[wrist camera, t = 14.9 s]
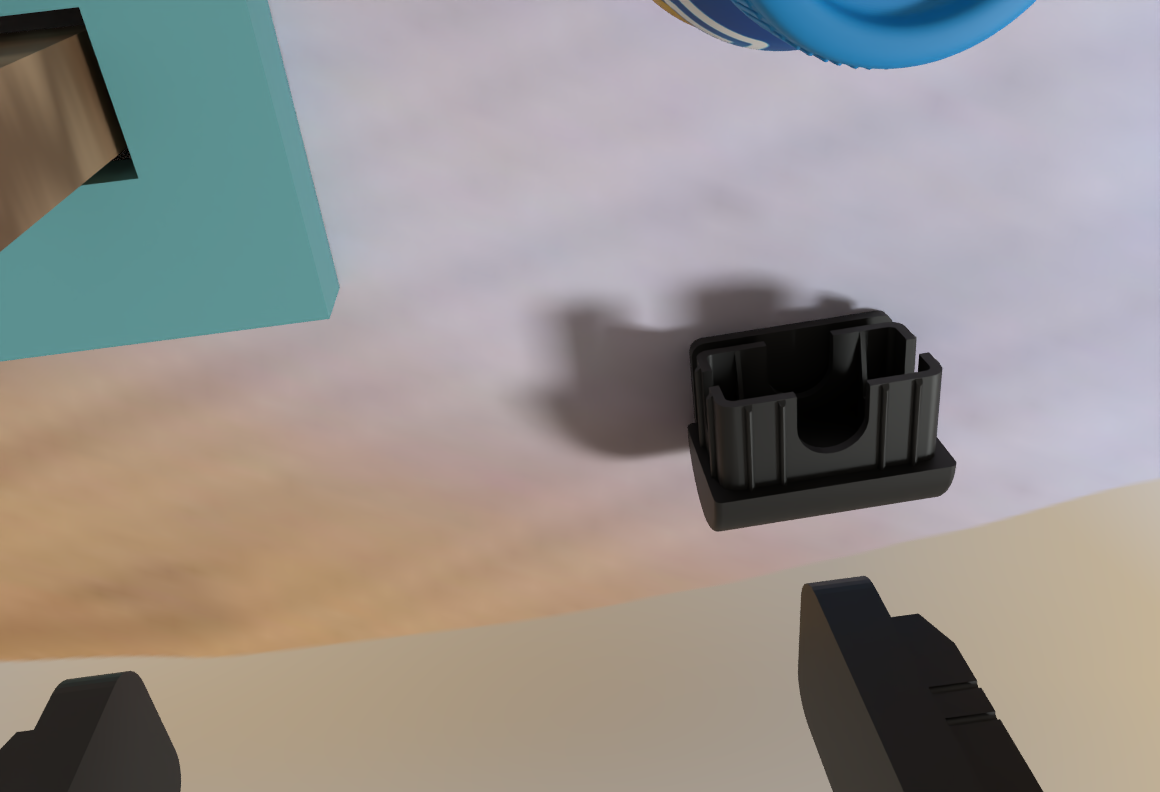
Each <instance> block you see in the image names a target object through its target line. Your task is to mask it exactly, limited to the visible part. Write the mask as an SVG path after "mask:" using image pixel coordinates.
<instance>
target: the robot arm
mask: <svg viewBox="0 0 1160 792" xmlns="http://www.w3.org/2000/svg"><path fill="white" fill-rule="evenodd" d="M799 636H800V637H799V660H798V680H799V688H800V695H801V701H802V705H803V709H804V713H805V717H806V720H807V723H808V726H809V729H810V731H811V734H812V737H813V739H814V742H815V745H816V747H817V750H818V753H819V755H820V758H821V761H822V764H823V766H824V769H825V771H826V774H827V777H828V780H829V782H830V785H831V788H832V790H833V792H1043V791H1042V789H1041V787H1040V785H1039V784H1038V782H1037V780H1036V779H1035V777H1034V776H1033V774H1032V772H1031V770H1030V769H1029V767H1028V765H1027V764H1026V762H1025V760H1024V759H1023V757H1022V755H1021V754H1020V752H1019V750H1018V749H1017V747H1016V745H1015V743H1014V742H1013V740H1012V738H1011V737H1010V735H1009V733H1008V732H1007V730H1006V728H1005V727H1004V725H1003V723H1002V722H1001V720H1000V719H999V720H997V718H996V715H995V710H994V708H993V707H992V705H991V703H990V702H989V700H988V698H987V697H986V695H985V693H984V692H983V690H982V688H978V685H977V680H976V678H975V677H974V675H973V673H972V672H971V670H970V668H969V666H968V665H967V663H966V661H965V660H964V658H963V656H962V655H961V653H960V651H959V650H958V648H957V646H956V645H955V643H954V642H952V641H951V640H950V639H949V638H948V637H946V636H945V635H944V634H943V633H941V632H940V631H939V630H938V629H937V628H935V627H934V626H933V625H932V624H930V623H929V622H928V621H927V620H926V619H924V618H923V617H922V616H921V615H919V614H912V615H905V616H897V617H890V615H889V613H888V611H887V609H886V607H885V605H884V603H883V602H882V600H881V598H880V596H879V594H878V592H877V590H876V589H875V587H874V585H873V583H872V582H871V581H870V579H869V578H867V577H866V576H860V577H853V578H845V579H837V580H830V581H822V582H815V583H807V584H804V586H803V588H802V592H801V611H800V635H799ZM180 788H181V773H180V764H179V759H178V756H177V753H176V751H175V748H174V746H173V745H172V742H171V740H170V738H169V736H168V734H167V731H166V729H165V727H164V725H163V723H162V722H161V719H160V717H159V715H158V712H157V710H156V708H155V706H154V704H153V702H152V700H151V698H150V696H149V694H148V691H147V689H146V687H145V685H144V683H143V681H142V679H141V678H140V677H139V675H138V674H136V673H135V672H132V671H127V672H120V673H112V674H104V675H97V676H89V677H82V678H75V679H67V680H65V681H63V682H61V683H60V684H59V685H58V686H57V687H56V689H55V690H54V692H53V693H52V695H51V697H50V700H49V701H48V703H47V705H46V707H45V709H44V711H43V713H42V715H41V717H40V719H39V721H38V723H37V725H36V727H35V729H34V730H30V731H23V732H17V733H16V734H15V735H14V736H13V737H12V738H11V739H10V740H9V741H8V742H7V743H6V744H5V745H4V746H3V747H2V748H1V749H0V792H180Z"/></svg>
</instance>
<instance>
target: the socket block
mask: <svg viewBox="0 0 1160 792" xmlns="http://www.w3.org/2000/svg"><path fill="white" fill-rule="evenodd" d="M75 7H79V9H80V12H81V15H82V17H83V20H84V23H85V26H86V29H87V32H88V35H89V37H90V40H91V43H92V46H93V49H94V52H95V55H96V58H97V60H98V63H99V66H100V69H101V72H102V75H103V78H104V80H105V83H106V86H107V89H108V92H109V95H110V98H111V101H112V103H113V106H114V109H115V112H116V115H117V118H118V121H119V123H120V126H121V129H122V132H123V135H124V138H125V141H126V144H127V146H128V149H129V152H130V155H131V158H132V159H125V160H117V161H110V162H109V163H107V164H106V165H105V166H104V167H103V168H101V169H100V170H99V171H98V172H97V173H95V174H94V175H93V176H92V177H91V178H89V179H88V180H87V181H86V182H84V183H83V184H82V185H81V186H80V187H78V188H77V189H76V190H75V191H74V192H72V193H71V194H70V195H69V196H68V197H66V198H65V199H64V200H63V201H61V202H60V203H59V204H58V205H57V206H55V207H54V208H53V209H52V210H51V211H49V212H48V213H47V214H46V215H44V216H43V217H42V218H41V219H40V220H38V221H37V222H36V223H35V224H34V225H32V226H31V227H30V228H29V229H28V230H26V231H25V232H24V233H23V234H21V235H20V236H19V237H18V238H17V239H15V240H14V241H13V242H12V243H11V244H9V245H8V246H7V247H6V248H5V249H3V250H2V251H1V252H0V361H7V360H15V359H23V358H30V357H38V356H46V355H54V354H61V353H69V352H77V351H84V350H92V349H100V348H107V347H115V346H123V345H131V344H138V343H146V342H154V341H161V340H169V339H177V338H185V337H192V336H200V335H208V334H215V333H223V332H231V331H238V330H246V329H254V328H262V327H269V326H277V325H285V324H292V323H300V322H308V321H316V320H323V319H329V318H330V315H331V312H332V309H333V306H334V303H335V300H336V297H337V294H338V291H339V288H340V287H339V283H338V279H337V275H336V271H335V267H334V263H333V259H332V255H331V251H330V247H329V243H328V239H327V236H326V232H325V228H324V224H323V220H322V216H321V212H320V208H319V204H318V200H317V196H316V192H315V188H314V184H313V180H312V176H311V172H310V168H309V164H308V160H307V156H306V152H305V148H304V144H303V140H302V136H301V132H300V128H299V124H298V120H297V116H296V112H295V108H294V104H293V100H292V96H291V92H290V88H289V85H288V81H287V77H286V73H285V69H284V65H283V61H282V57H281V53H280V49H279V45H278V41H277V37H276V33H275V29H274V25H273V21H272V17H271V13H270V9H269V5H268V1H267V0H0V16H8V15H16V14H24V13H33V12H41V11H50V10H58V9H66V8H75Z"/></svg>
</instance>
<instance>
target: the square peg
mask: <svg viewBox="0 0 1160 792" xmlns="http://www.w3.org/2000/svg"><path fill="white" fill-rule="evenodd" d="M127 147H128V146H127V144H126V141H125V138H124V135H123V132H122V129H121V126H120V123H119V121H118V118H117V115H116V112H115V109H114V106H113V103H112V101H111V98H110V95H109V92H108V89H107V86H106V83H105V80H104V78H103V75H102V72H101V69H100V66H99V63H98V60H97V58H96V55H95V52H94V49H93V46H92V43H91V40H90V37H89V35H88V32H87V29H86V26H85V25H77V26H67V27H58V28H48V29H39V30H29V31H20V32H10V33H1V34H0V252H1V251H2V250H3V249H5V248H6V247H7V246H8V245H9V244H11V243H12V242H13V241H14V240H15V239H17V238H18V237H19V236H20V235H21V234H23V233H24V232H25V231H26V230H28V229H29V228H30V227H31V226H32V225H34V224H35V223H36V222H37V221H38V220H40V219H41V218H42V217H43V216H44V215H46V214H47V213H48V212H49V211H51V210H52V209H53V208H54V207H55V206H57V205H58V204H59V203H60V202H61V201H63V200H64V199H65V198H66V197H68V196H69V195H70V194H71V193H72V192H74V191H75V190H76V189H77V188H78V187H80V186H81V185H82V184H83V183H84V182H86V181H87V180H88V179H89V178H91V177H92V176H93V175H94V174H95V173H97V172H98V171H99V170H100V169H101V168H103V167H104V166H105V165H106V164H107V163H109V162H110V161H111V160H112V159H114V158H115V157H116V156H117V155H118V154H120V153H121V152H122V151H123V150H124V149H126V148H127Z"/></svg>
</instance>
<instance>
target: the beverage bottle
mask: <svg viewBox="0 0 1160 792" xmlns="http://www.w3.org/2000/svg"><path fill="white" fill-rule="evenodd" d="M653 1H654V2H655V3H656V4H657V5H659V6H660V7H661V8H663V9H664V10H665V11H667V12H668V13H670V14H671V15H673V16H674V17H676V18H678V19H680V20H681V21H683V22H685V23H687V24H689V25H692V26H694V27H696V28H698V29H700V30H701V31H703V32H705V33H707V34H709V35H711V36H713V37H715V38H717V39H720V40H722V41H725V42H727V43H730V44H734V45H737V46H741V47H745V48H750V49H756V50H765V51H792V50H801V51H802V52H804V53H805V54H807V55H809V56H812V55H814V56H815V57H817V58H819V59H820V60H822V61H824V62H828V60H829V61H830V62H832V63H834V64H836V65H838V66H840V65H841V64H846V65H848V66H850V67H852V68H854V69H856V68H858V67H863V68H866V69H869V70H870V69H872V68H874V69H894V68H905V67H912V66H918V65H923V64H927V63H931V62H935V61H938V60H941V59H944V58H947V57H950V56H952V55H955V54H957V53H960V52H962V51H964V50H966V49H969V48H971V47H973V46H974V45H976V44H978V43H980V42H982V41H984V40H985V39H987V38H989V37H990V36H992V35H994V34H995V33H997V32H998V31H1000V30H1001V29H1003V28H1004V27H1005V26H1007V25H1008V24H1009V23H1011V22H1012V21H1013V20H1015V19H1016V18H1017V17H1018V16H1020V15H1021V14H1022V13H1023V12H1024V11H1025V10H1026V9H1028V8H1029V7H1030V6H1031V5H1032V4H1033V3H1034V2H1035V1H1036V0H653Z"/></svg>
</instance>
